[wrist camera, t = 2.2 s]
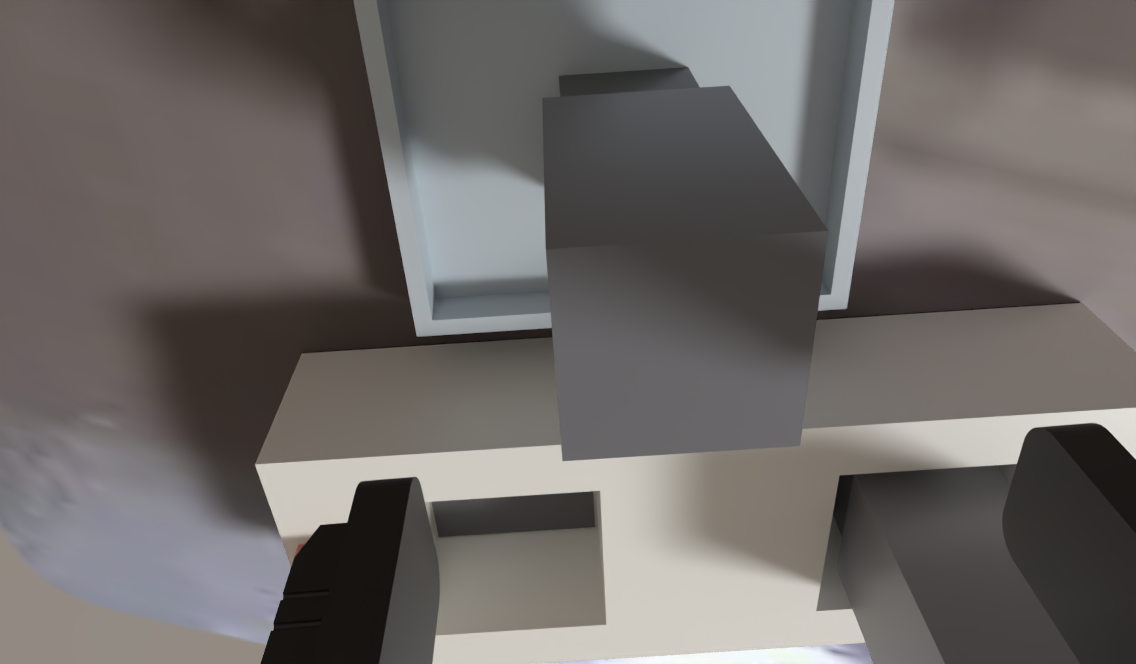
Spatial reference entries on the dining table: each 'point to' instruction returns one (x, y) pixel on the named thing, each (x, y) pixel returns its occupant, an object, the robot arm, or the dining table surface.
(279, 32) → the dining table surface
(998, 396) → the pdu strip
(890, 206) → the dining table surface
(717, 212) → the plug
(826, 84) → the tray
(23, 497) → the dining table surface
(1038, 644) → the twin plug
